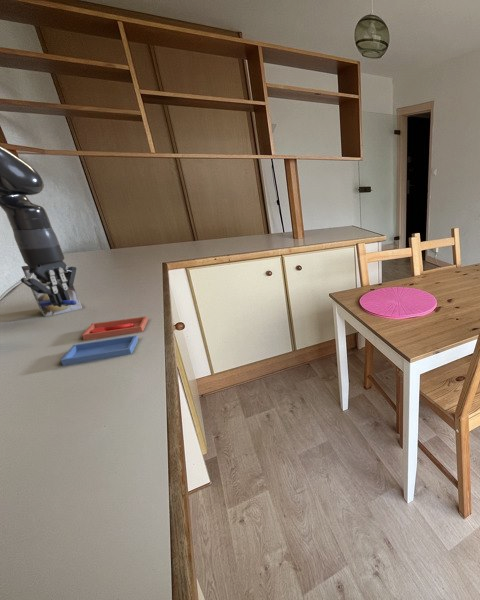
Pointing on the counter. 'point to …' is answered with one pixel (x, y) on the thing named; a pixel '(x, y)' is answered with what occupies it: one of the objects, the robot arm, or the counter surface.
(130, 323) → the red spoon
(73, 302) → the blue spoon
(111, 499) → the counter surface
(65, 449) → the counter surface
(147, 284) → the counter surface
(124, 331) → the red tray
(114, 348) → the blue tray
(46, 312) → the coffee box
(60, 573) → the counter surface
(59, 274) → the robot arm
